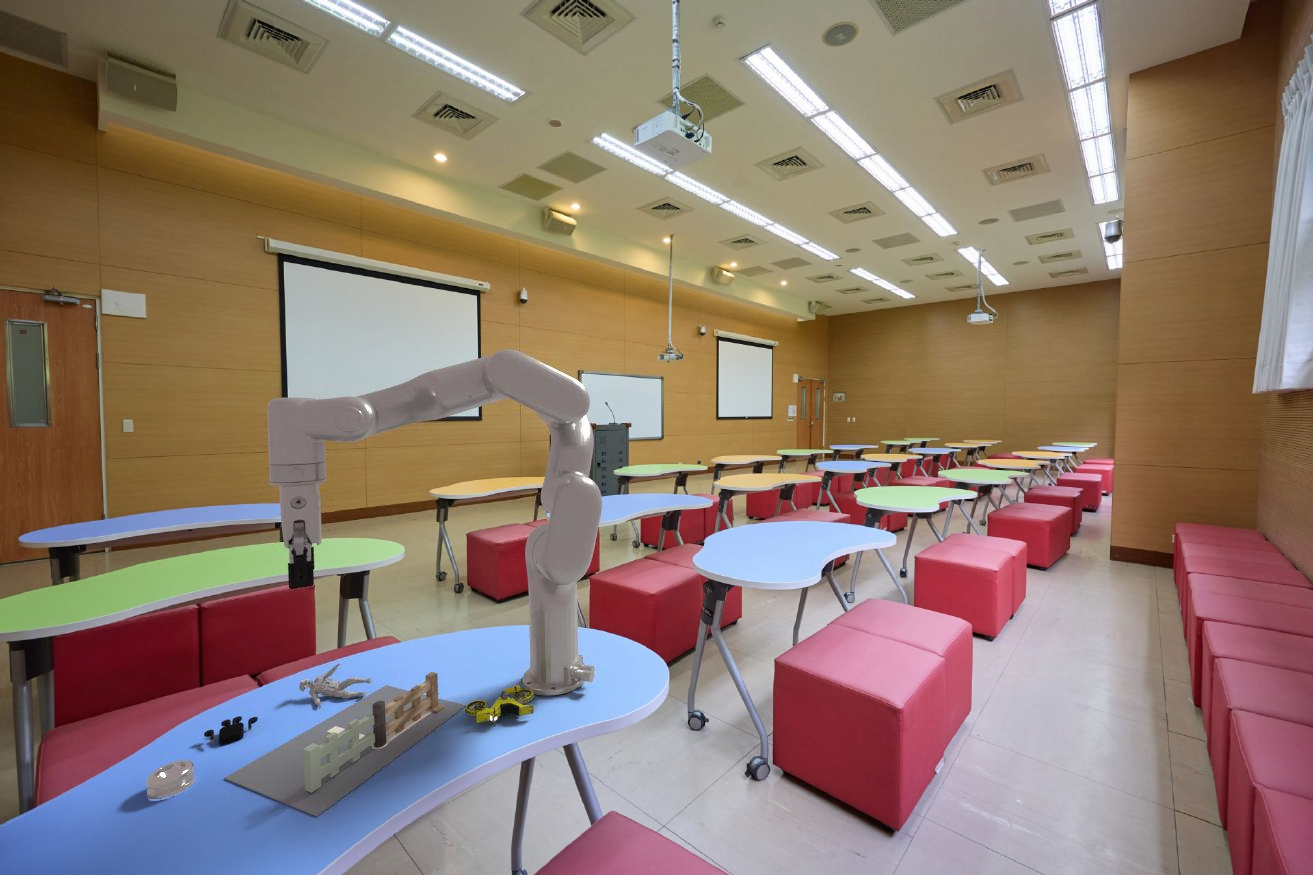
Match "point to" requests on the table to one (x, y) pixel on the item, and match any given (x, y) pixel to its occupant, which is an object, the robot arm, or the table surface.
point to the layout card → (285, 764)
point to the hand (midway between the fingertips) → (302, 578)
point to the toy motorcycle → (502, 705)
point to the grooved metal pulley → (170, 779)
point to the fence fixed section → (400, 715)
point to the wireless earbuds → (231, 730)
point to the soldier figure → (331, 686)
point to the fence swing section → (336, 752)
